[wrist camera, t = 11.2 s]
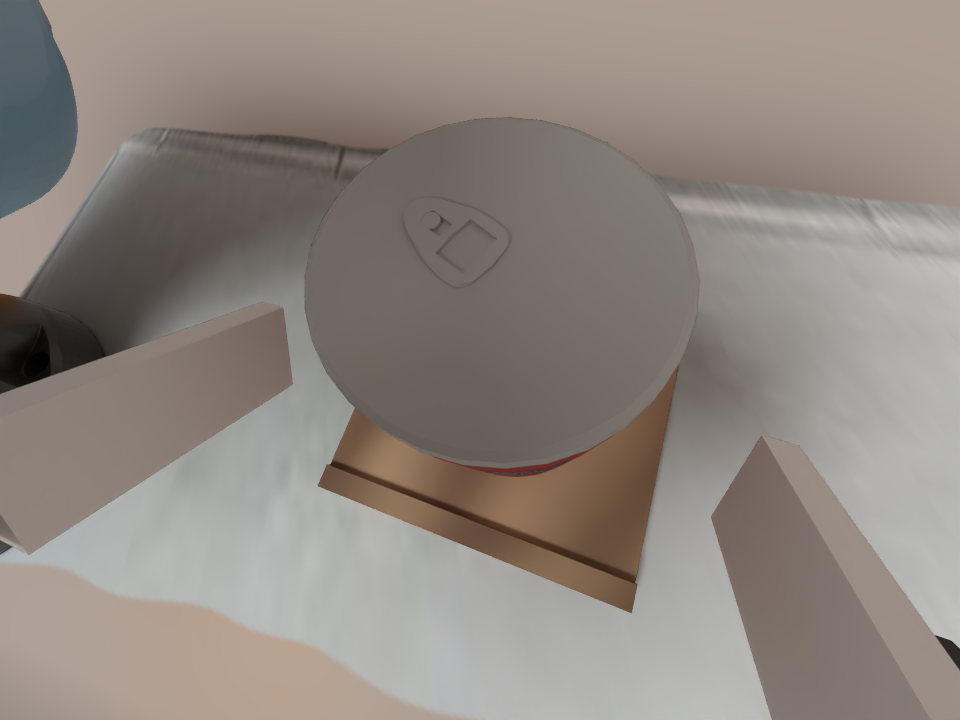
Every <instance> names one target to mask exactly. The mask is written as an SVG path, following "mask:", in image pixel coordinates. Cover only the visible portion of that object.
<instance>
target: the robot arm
mask: <svg viewBox="0 0 960 720" xmlns="http://www.w3.org/2000/svg"><path fill="white" fill-rule="evenodd" d="M77 132H78V123H77V107H76V101H75V96H74V91H73V86H72V82H71V78H70V75H69V72H68V69H67V66H66V63H65V61H64V59H63V57H62V55H61V52H60V50H59V48H58V46H57V44H56V42H55V40H54V38H53V33H52V30H51V25H50V23H49V21H48V18H47V16H46V14H45V12H44V10H43V8H42V6H41V4H40V2H39V0H0V219H1V218H3V217H5V216H7V215H9V214H11V213H13V212H15V211H17V210H19V209H21V208H23V207H25V206H27V205H29V204H31V203H33V202H35V201H36V200H38V199H39V198H41V197H42V196H44V195H45V194H46V193H47V192H49V191H50V190H51V189H52V188H53V187H54V186H55V185H56V184H57V183H58V182H59V180H60V179H61V178H62V177H63V175H64V174H65V172H66V170H67V169H68V167H69V164H70V162H71V159H72V157H73V154H74V150H75V147H76V141H77ZM292 384H293V383H292V375H291V367H290V359H289V351H288V342H287V334H286V326H285V318H284V310H283V307H280V306H276V305H272V304H268V303H265V302H260V303H257V304H255V305H252V306H249V307H246V308H243V309H240V310H238V311H235V312H232V313H229V314H226V315H223V316H221V317H218V318H215V319H212V320H209V321H206V322H204V323H201V324H198V325H195V326H192V327H189V328H186V329H184V330H181V331H178V332H175V333H172V334H169V335H167V336H164V337H161V338H158V339H155V340H152V341H150V342H147V343H144V344H141V345H138V346H135V347H133V348H130V349H127V350H124V351H121V352H118V353H115V354H113V355H110V356H107V357H104V356H103V353H102V350H101V347H100V345H99V343H98V341H97V339H96V338H95V336H94V335H93V333H92V332H91V331H90V330H89V329H88V328H87V327H86V326H85V325H84V324H83V323H82V322H80V321H79V320H77V319H76V318H74V317H72V316H70V315H68V314H65V313H62V312H60V311H57V310H54V309H52V308H49V307H46V306H43V305H41V304H38V303H35V302H33V301H30V300H27V299H23V298H20V297H15V296H11V295H5V294H0V554H1V553H2V552H4V551H5V550H7V549H8V548H9V547H11V546H13V547H14V548H16V549H18V550H20V551H22V552H24V553H26V554H28V555H29V554H31V553H32V552H34V551H36V550H37V549H39V548H40V547H42V546H43V545H45V544H46V543H48V542H49V541H51V540H53V539H54V538H56V537H57V536H59V535H60V534H62V533H63V532H65V531H67V530H68V529H70V528H71V527H73V526H74V525H76V524H77V523H79V522H80V521H82V520H84V519H85V518H87V517H88V516H90V515H91V514H93V513H94V512H96V511H97V510H99V509H101V508H102V507H104V506H105V505H107V504H108V503H110V502H111V501H113V500H114V499H116V498H118V497H119V496H121V495H122V494H124V493H125V492H127V491H128V490H130V489H132V488H133V487H135V486H136V485H138V484H139V483H141V482H142V481H144V480H145V479H147V478H149V477H150V476H152V475H153V474H155V473H156V472H158V471H159V470H161V469H162V468H164V467H166V466H167V465H169V464H170V463H172V462H173V461H175V460H176V459H178V458H179V457H181V456H183V455H184V454H186V453H187V452H189V451H190V450H192V449H193V448H195V447H197V446H198V445H200V444H201V443H203V442H204V441H206V440H207V439H209V438H210V437H212V436H214V435H215V434H217V433H218V432H220V431H221V430H223V429H224V428H226V427H227V426H229V425H231V424H232V423H234V422H235V421H237V420H238V419H240V418H241V417H243V416H244V415H246V414H248V413H249V412H251V411H252V410H254V409H255V408H257V407H258V406H260V405H262V404H263V403H265V402H266V401H268V400H269V399H271V398H272V397H274V396H275V395H277V394H279V393H280V392H282V391H283V390H285V389H286V388H288V387H289V386H291V385H292ZM711 518H712V522H713V525H714V528H715V532H716V535H717V538H718V542H719V545H720V548H721V552H722V555H723V558H724V562H725V565H726V568H727V572H728V575H729V578H730V582H731V585H732V588H733V592H734V595H735V598H736V602H737V605H738V608H739V612H740V615H741V618H742V622H743V625H744V628H745V632H746V635H747V638H748V642H749V645H750V648H751V652H752V655H753V658H754V661H755V665H756V668H757V671H758V675H759V678H760V681H761V685H762V688H763V691H764V695H765V698H766V701H767V705H768V708H769V711H770V715H771V718H772V720H960V648H959V647H958V646H956V645H955V644H954V643H953V642H952V641H951V640H948V639H945V638H942V637H939V636H936V635H934V634H933V632H932V631H931V630H930V628H929V627H928V625H927V624H926V623H925V621H924V620H923V618H922V617H921V616H920V614H919V613H918V611H917V610H916V608H915V607H914V606H913V604H912V603H911V601H910V600H909V599H908V597H907V596H906V594H905V593H904V592H903V590H902V589H901V587H900V586H899V585H898V583H897V582H896V580H895V579H894V578H893V576H892V575H891V573H890V572H889V571H888V569H887V568H886V566H885V565H884V564H883V562H882V561H881V559H880V558H879V557H878V555H877V554H876V552H875V551H874V550H873V548H872V547H871V545H870V544H869V543H868V541H867V540H866V538H865V537H864V536H863V534H862V533H861V531H860V530H859V529H858V527H857V526H856V524H855V523H854V522H853V520H852V519H851V517H850V516H849V514H848V513H847V512H846V510H845V509H844V507H843V506H842V505H841V503H840V502H839V500H838V499H837V498H836V496H835V495H834V493H833V492H832V491H831V489H830V488H829V486H828V485H827V484H826V482H825V481H824V479H823V478H822V477H821V475H820V474H819V472H818V471H817V470H816V468H815V467H814V465H813V464H812V463H811V461H810V460H809V458H808V457H807V456H806V454H805V453H804V451H803V450H802V449H801V447H800V446H799V445H796V444H792V443H789V442H785V441H781V440H777V439H774V438H770V437H766V436H761V437H760V439H759V440H758V442H757V444H756V445H755V447H754V448H753V450H752V452H751V453H750V455H749V456H748V458H747V460H746V461H745V463H744V464H743V466H742V468H741V469H740V471H739V473H738V474H737V476H736V477H735V479H734V481H733V482H732V484H731V485H730V487H729V489H728V490H727V492H726V493H725V495H724V497H723V498H722V500H721V501H720V503H719V505H718V506H717V508H716V509H715V511H714V513H713V514H712V516H711Z"/></svg>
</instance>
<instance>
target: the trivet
mask: <svg viewBox="0 0 960 720" xmlns="http://www.w3.org/2000/svg"><path fill="white" fill-rule="evenodd" d="M678 366H679V364H678ZM678 366H677V367H676V369H675V370H674V372H673V373H672V375H671V376H670V378H669V380H668V381H667V383H666V384H665V386H664V387H663V389H662V390H661V391H660V392H659V393H658V395H657V397H656V398H655V400H654V401H653V402H652V403H651V404H650V405H648V406H647V407H646V408H645V409H644V410H643V411H642V412H641V413H640V414H639V415H638V416H637V417H636V418H635V419H634V420H633V421H632V422H631V423H630V424H629V425H628V426H627V427H626V428H624V429H623V430H621V431H619V432H618V433H616V434H615V435H614V436H613V437H611V438H609V439H608V440H606V441H604V442H603V443H601V444H600V445H598V446H596V447H595V448H593V449H591V450H590V451H588V452H586V453H585V454H583V455H581V456H579V457H577V458H575V459H573V460H571V461H569V462H567V463H565V464H563V465H561V466H559V467H557V468H555V469H553V470H550V471H547V472H544V473H541V474H538V475H534V476H526V477H508V476H498V475H494V474H490V473H486V472H482V471H478V470H474V469H470V468H467V467H464V466H460V465H457V464H454V463H450V462H447V461H443V460H440V459H437V458H435V457H433V456H430V455H427V454H424V453H422V452H420V451H418V450H416V449H414V448H412V447H410V446H409V445H407V444H405V443H403V442H401V441H399V440H397V439H396V438H394V437H392V436H390V435H388V434H387V433H386V432H385V431H383V430H382V429H381V428H379V427H378V426H377V425H376V424H374V423H373V422H372V421H371V420H370V419H369V418H367V417H366V416H365V415H364V414H363V413H361V412H360V411H359V410H358V409H357V408H356V407H355V409H354V412H353V414H352V416H351V418H350V421H349V423H348V425H347V428H346V430H345V432H344V434H343V437H342V439H341V441H340V444H339V446H338V448H337V451H336V453H335V455H334V457H333V460H332V462H331V464H330V465H328V464H327V466H326V468H325V470H324V473H323V475H322V477H321V479H320V482H319V484H318V486H319V487H322V488H324V489H327V490H329V491H331V492H334V493H336V494H339V495H341V496H344V497H346V498H349V499H351V500H354V501H356V502H359V503H361V504H364V505H366V506H368V507H371V508H373V509H376V510H378V511H381V512H383V513H386V514H388V515H391V516H393V517H396V518H398V519H401V520H403V521H405V522H408V523H410V524H413V525H415V526H418V527H420V528H423V529H425V530H428V531H430V532H433V533H435V534H438V535H440V536H442V537H445V538H447V539H450V540H452V541H455V542H457V543H460V544H462V545H465V546H467V547H470V548H472V549H475V550H477V551H480V552H482V553H484V554H487V555H489V556H492V557H494V558H497V559H499V560H502V561H504V562H507V563H509V564H512V565H514V566H517V567H519V568H521V569H524V570H526V571H529V572H531V573H534V574H536V575H539V576H541V577H544V578H546V579H549V580H551V581H554V582H556V583H558V584H561V585H563V586H566V587H568V588H571V589H573V590H576V591H578V592H581V593H583V594H586V595H588V596H591V597H593V598H595V599H598V600H600V601H603V602H605V603H608V604H610V605H613V606H615V607H618V608H620V609H623V610H625V611H628V612H630V613H632V609H633V604H634V599H635V594H636V589H637V584H636V583H635V581H636V576H637V571H638V566H639V561H640V556H641V551H642V546H643V541H644V536H645V531H646V526H647V521H648V516H649V511H650V506H651V501H652V496H653V491H654V486H655V481H656V476H657V471H658V466H659V461H660V456H661V451H662V446H663V441H664V436H665V431H666V426H667V421H668V416H669V411H670V406H671V401H672V396H673V391H674V386H675V381H676V376H677V371H678Z"/></svg>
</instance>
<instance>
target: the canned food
mask: <svg viewBox="0 0 960 720" xmlns="http://www.w3.org/2000/svg"><path fill="white" fill-rule="evenodd" d="M698 292H699V276H698V270H697V264H696V258H695V252H694V246H693V243H692V241H691V239H690V236H689V234H688V231H687V229H686V226H685V224H684V222H683V219H682V217H681V214H680V213H679V211H678V210H677V208H676V207H675V205H674V204H673V203H672V201H671V200H670V198H669V197H668V195H667V194H666V192H665V191H664V190H663V188H662V187H661V185H660V184H659V183H658V182H657V181H656V180H655V179H654V178H652V177H651V176H650V175H649V174H648V173H647V172H646V171H645V170H644V169H643V168H642V167H641V166H640V165H639V164H638V163H637V162H636V161H634V160H633V159H631V158H629V157H628V156H627V155H625V154H624V153H622V152H621V151H619V150H617V149H616V148H614V147H613V146H611V145H610V144H608V143H607V142H605V141H602V140H600V139H598V138H595V137H593V136H591V135H588V134H586V133H584V132H581V131H579V130H577V129H574V128H570V127H566V126H562V125H558V124H554V123H551V122H547V121H542V120H532V119H522V118H512V117H508V118H507V117H506V118H485V119H474V120H469V121H464V122H459V123H454V124H448V125H444V126H441V127H439V128H436V129H433V130H430V131H427V132H424V133H422V134H419V135H416V136H414V137H412V138H410V139H408V140H406V141H404V142H402V143H401V144H399V145H397V146H395V147H393V148H391V149H389V150H387V151H386V152H385V153H383V154H382V155H381V156H379V157H378V158H377V159H375V160H374V161H373V162H371V163H370V164H369V165H367V166H366V167H365V168H363V169H362V170H361V171H360V172H359V173H358V174H357V175H356V176H355V177H354V178H353V179H352V180H351V182H350V183H349V184H348V185H347V186H346V187H345V188H344V189H343V190H342V191H341V192H340V194H339V195H338V197H337V198H336V200H335V201H334V203H333V204H332V205H331V207H330V208H329V210H328V211H327V213H326V214H325V216H324V217H323V220H322V222H321V224H320V227H319V229H318V231H317V234H316V236H315V238H314V241H313V243H312V245H311V250H310V254H309V259H308V264H307V269H306V273H305V312H306V316H307V321H308V325H309V330H310V335H311V339H312V342H313V344H314V347H315V349H316V351H317V353H318V355H319V357H320V360H321V362H322V364H323V366H324V368H325V370H326V372H327V374H328V375H329V376H330V378H331V379H332V380H333V382H334V383H335V384H336V386H337V387H338V388H339V390H340V391H341V392H342V393H343V395H344V396H345V397H346V399H347V400H348V401H349V402H350V403H351V404H352V405H353V406H354V407H356V408H357V409H358V410H359V411H360V412H361V413H363V414H364V415H365V416H366V417H367V418H369V419H370V420H371V421H372V422H373V423H374V424H376V425H377V426H378V427H379V428H381V429H382V430H383V431H385V432H386V433H387V434H388V435H390V436H392V437H394V438H396V439H397V440H399V441H401V442H403V443H405V444H407V445H409V446H410V447H412V448H414V449H416V450H418V451H420V452H422V453H424V454H427V455H430V456H433V457H435V458H437V459H440V460H443V461H447V462H450V463H454V464H457V465H460V466H464V467H467V468H470V469H474V470H478V471H482V472H486V473H490V474H494V475H498V476H508V477H526V476H534V475H538V474H541V473H544V472H547V471H550V470H553V469H555V468H557V467H559V466H561V465H563V464H565V463H567V462H569V461H571V460H573V459H575V458H577V457H579V456H581V455H583V454H585V453H586V452H588V451H590V450H591V449H593V448H595V447H596V446H598V445H600V444H601V443H603V442H604V441H606V440H608V439H609V438H611V437H613V436H614V435H615V434H616V433H618V432H619V431H621V430H623V429H624V428H626V427H627V426H628V425H629V424H630V423H631V422H632V421H633V420H634V419H635V418H636V417H637V416H638V415H639V414H640V413H641V412H642V411H643V410H644V409H645V408H646V407H647V406H648V405H650V404H651V403H652V402H653V401H654V400H655V398H656V397H657V395H658V393H659V392H660V391H661V390H662V389H663V387H664V386H665V384H666V383H667V381H668V380H669V378H670V376H671V375H672V373H673V372H674V370H675V369H676V367H677V366H678V364H679V362H680V361H681V359H682V358H683V356H684V354H685V351H686V348H687V345H688V342H689V339H690V336H691V333H692V330H693V327H694V324H695V321H696V317H697V305H698Z"/></svg>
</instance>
